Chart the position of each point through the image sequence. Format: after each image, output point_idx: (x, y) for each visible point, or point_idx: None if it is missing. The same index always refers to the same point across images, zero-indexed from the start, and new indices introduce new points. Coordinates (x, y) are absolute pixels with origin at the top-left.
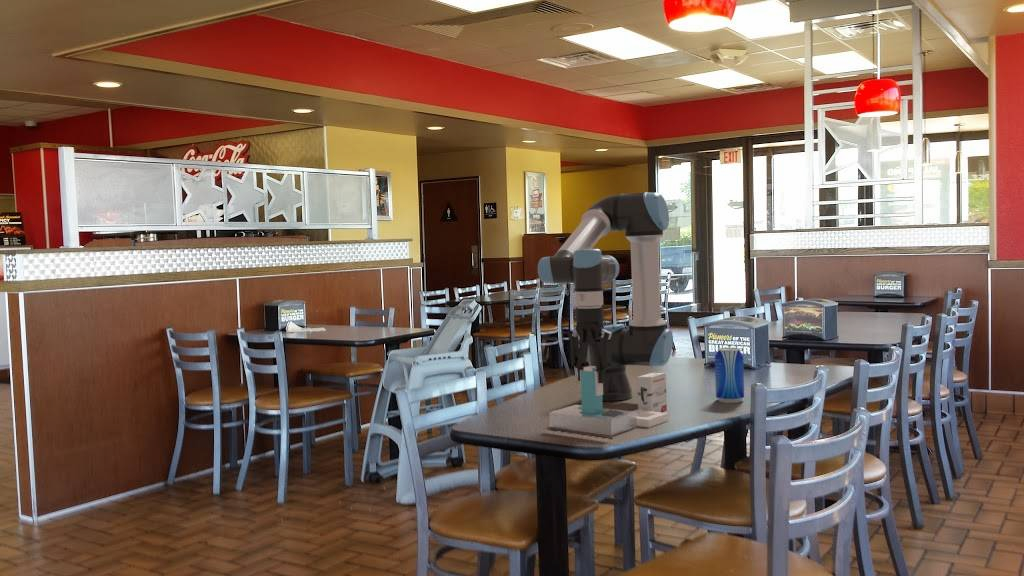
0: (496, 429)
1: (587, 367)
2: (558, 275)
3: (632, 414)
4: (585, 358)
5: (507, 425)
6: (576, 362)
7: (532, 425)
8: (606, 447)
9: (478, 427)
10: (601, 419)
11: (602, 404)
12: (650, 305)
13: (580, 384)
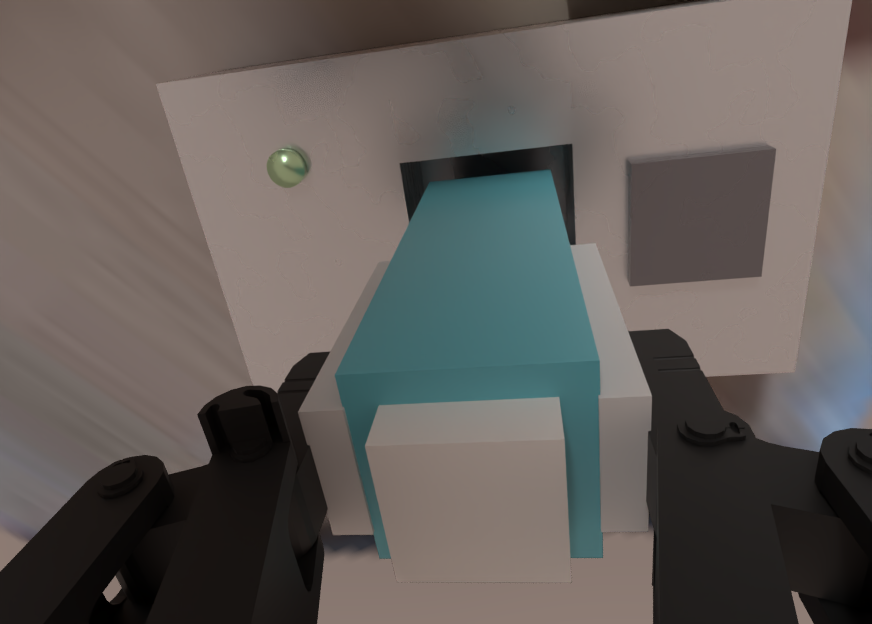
0: (95, 453)
1: (471, 579)
2: None
3: (836, 66)
4: (276, 608)
5: (42, 372)
6: (160, 573)
7: (121, 301)
8: (810, 443)
9: (7, 466)
10: (705, 375)
11: (555, 192)
12: None
13: None
